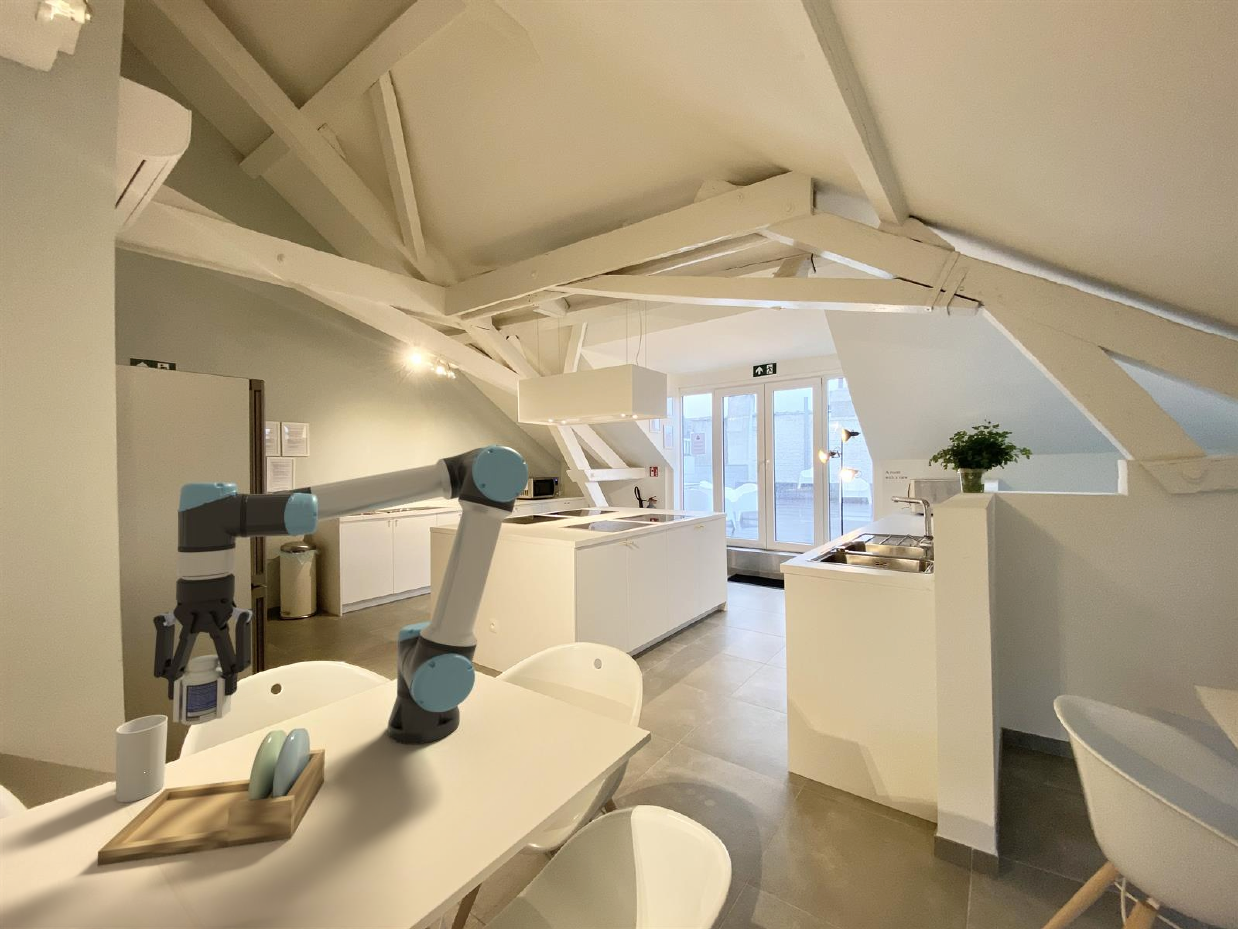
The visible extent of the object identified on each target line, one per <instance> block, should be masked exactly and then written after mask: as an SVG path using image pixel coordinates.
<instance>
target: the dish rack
mask: <svg viewBox="0 0 1238 929" xmlns="http://www.w3.org/2000/svg"><path fill="white" fill-rule="evenodd" d="M325 753H326V749H325V748H323V749H322V748H321V749H313V750H312V749H310V756H309V763H308V765H307V766H306V768H305V769H304V771H303V772H302V774H301V775H300V777H299V778H298V779H297V781H296V782H295V784H294V785H293V787H292V788H291V790H290V791H289V793H288V794H287V796H283V797H275V798H273V791H272V792H271V794H270V795H269V796H268V798H267V799H259V800H250V801H249V798H248V792H249V781H250V778H249V779H241V780H231V781H224V782H215V783H213V782H212V783H205V784H198V785H197V784H196V785H189V786H187V785H186V786H179V787H171V788H165V789H164V790H163V791H162V792H161V793H160V794H158V796H156V797H155V798H154V799H153V800H152V801H151V802H150V803H149V804H148V805H147V806H145V807H144V808H143V809H142V810H141V811H140V812H139V813H138V814H137V815H136V816H134V818H133V819H131V820H130V822H128V823H127V824H126V825H125V826H124V827H123V828H122V829H120V830H119V832H118V833H116V834H115V835H114V836H113V837H112V838H111V839H110V840H109V841H108V842H106V844H105V845H104V846H102V848H100V849H99V850H98V851H97V867H99V866H105V865H113V864H119V863H127V862H128V863H129V862H134V861H140V860H148V859H155V858H162V857H163V858H164V857H170V856H176V855H185V854H190V853H199V852H206V851H214V850H221V849H227V848H229V849H230V848H235V847H243V846H249V845H250V846H251V845H257V844H262V843H263V844H264V843H270V842H277V841H278V842H279V841H285V840H290V839H292V838H293V836H294V834H295V833H296V831H297V830H298V827H299V826H300V824H301V822H302V821H303V819H304V817H305V816H306V813H307V812H308V810H309V808H310V807H311V805H312V804H313V801H314V800H315V798H316V796H317V795H318V793H319V791H320V790H321V788H322V786H323V785H324V783H325V762H326V761H325V757H326V756H325Z"/></svg>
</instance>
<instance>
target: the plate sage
mask: <svg viewBox="0 0 1238 929" xmlns="http://www.w3.org/2000/svg"><path fill="white" fill-rule="evenodd" d="M287 736H288V734H287V733H286V731H284V729H283V730H281V729H280V730H272V731H270V732H268V733H267V734H266V735H265V736H264V738H263V739H262V741H261V743H260V745H259V746H258V749H257V752H256V754H255V757H254V760H253V763H252V767H251V772H250V774H249V775H250V776H249V779H250V781H249V792H248V798H249V801H250V800H259V799H267V798H268V796H269V795H270V794H271V792H272V791H273V782H274V774H275V769H276V764H277V760H278V757H279V753H280V751H281V748H282V745H283V743H284V741H285V739H286V737H287Z"/></svg>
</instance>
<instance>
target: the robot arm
mask: <svg viewBox="0 0 1238 929" xmlns="http://www.w3.org/2000/svg"><path fill="white" fill-rule="evenodd" d="M529 476H530V475H529V468H528V464H527V462H526V461H525V459H524V458H523V456H522V455H521V453H519V452H518V451H517V450H515V449H513V448H511V447H509V446H506V445H505V446H504V445H498V444H496V445H495V444H494V445H493V444H492V445H488V446H485V447H479V448H474V449H472V450H469V451H466V452H463V453H460V454H457V455H453V456H449V457H443V458H439V459H438V460H437V461H436V463H435V464H429V465H424V466H418V467H413V468H408V469H407V468H406V469H402V470H395V471H391V472H384V473H383V472H382V473H377V474H373V475H368V476H363V477H356V478H351V479H349V478H348V479H346V480H345V479H344V480H337V481H334V482H328V483H327V482H326V483H321V484H317V485H316V484H315V485H311V486H307V487H299V488H293V489H288V490H287V489H283V490H278V491H275V492H273V493H253V494H250V493H240V492H239V490H238V485H237V484H236V483H234V482H212V481H211V482H203V481H202V482H199V481H198V482H187V483H185V484H184V485H182V487H181V488H180V493H179V494H180V495H179V504H178V505H179V506H178V509H177V518H178V519H177V553H176V555H177V557H176V559H177V560H176V575H177V576H178V577H180V578H178V579H177V580H176V582H175V583H176V587H175V588H176V589H175V600H176V605H175V608H174V609H173V611H169V612H168V611H167V612H164V613H161V614H159V615H156V616H155V617H153V619H152V622H153V624H154V627H155V630H156V637H155V638H156V639H155V649H154V664H153V677H154V678H157V679H158V678H163V679H166V680H167V683H168V685H167V686H168V687H167V698H168V700H169V701H172V700H173V708H172V711H173V712H172V723H179V722H181V702H182V679H183V677H184V676H185V675H186V674H187V672H188V670H187V668H188V662H189V660H190V658H191V654H192V652H193V649H194V646H195V644H196V640H197V638H198V635H199V634H200V633H205V634H208V635H209V637H210V639H211V640H212V642H213V646H214V648H215V652H216V655H218V659H219V662H220V663H219V665H220V668H221V669H222V672H223V675H222V676H221V677H219V678H218V682H217V718H216V719H217V720H219V719H223V718H224V717H226V715H227V714H229V713H230V712H231V709H232V707H231V706H232V696H233V694H235V693H236V692H237V690H238V674H239V673H242V672H243V671H245V670H247V669H248V668H249V667H251V665H252V631H251V630H252V626H251V624H252V621H253V618H254V615H255V610H254V609H253V608H248V609H244V608H241V607H240V608H239V607H237V604H236V603H235V601H234V597H235V593H236V592H235V589H236V588H235V585H236V584H235V582H236V575H235V574H233V573H232V572H234V571H235V570H236V547H237V546H236V545H237V544H236V543H237V542H236V540H237V538H242V539H243V538H255V537H257V538H261V537H285V536H287V537H288V536H290V537H291V536H292V537H298V536H305V535H306V536H307V535H312V534H314V533H316V532H317V530H318V523H321V522H326V521H330V520H331V521H332V520H335V519H339V518H344V517H348V516H354V515H360V514H364V513H370V512H374V511H378V510H384V509H388V508H389V509H390V508H393V507H394V508H395V507H399V506H403V505H407V504H413V503H416V502H421V501H427V500H433V499H436V498H443V499H446V500H453V499H457V502H458V504H459V505H460V508H461V509H462V510H461V511H462V512H461V516H460V520H459V523H458V526H457V530H456V533H455V537H454V540H453V543H452V546H451V550H450V554H449V557H448V561H447V565H446V567H445V568H446V569H445V572H444V575H443V578H442V579H443V580H442V583H441V586H440V590H439V592H438V596H437V599H436V603H435V607H434V610H433V614H432V618H431V621H426V622H425V621H424V622H418V623H412V624H409V625H406V626H403V627H402V628H400V630H398V635H397V640H396V644H397V666H396V668H397V673H396V674H397V676H396V677H397V678H396V679H397V680H396V682H397V683H396V684H397V685H396V698H395V700H394V701H395V702H394V704H393V707H392V710H391V713H390V716H389V719H388V722H387V736H388V738H389V739H390V740H392V741H394V742H396V743H399V744H406V745H416V744H425V743H430V742H433V741H437V740H440V739H442V738H444V737H447V736H448V735H450V734H451V733H453V732H454V731H456V729H458V727H459V725H460V719H461V718H460V717H461V716H460V712H461V711H460V708H459V705H460V704H462V702H464V701H465V700H466V699H467V698H468V697H469V695H470V693H471V692H472V691H473V688H474V684H475V683H476V682H475V681H476V672H475V667H474V665H473V661H474V656H475V653H476V649H477V646H478V639H477V637H476V635H475V634H474V628H475V624H476V620H477V617H478V614H479V609H480V605H481V602H482V598H483V596H484V591H485V586H486V583H487V581H488V580H487V579H488V575H489V571H490V568H491V565H492V561H493V558H494V553H495V551H496V546H497V543H498V539H499V535H500V532H501V529H502V524H503V520H505V519H506V518H507V517H509V516H511V515H512V514H513V512H514V507H515V503H516V500H517V499H518V498H519V497H520V496H521V495H522V493H524V491H525V489H526V488H527V485H528V482H529ZM232 616H233V618H234V619H233V622H234V623H235V629H234V632H235V633H234V634H235V635H234V636H235V638H234V639H235V642H234V643H235V648H234V645H233V642H232V639H231V636H230V624H229V623H228V622H229V620H230V619H231V618H232ZM177 621H178V622H179V624H180V625H181V626H182V628H181V630H180V633H179V636H178V638H179V641H178V644H177V646H176V649H175V652H174V648H175V646H174V645H175V634H176V633H175V632H176V625H175V624H176V622H177ZM216 719H215V720H216Z"/></svg>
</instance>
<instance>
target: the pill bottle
mask: <svg viewBox="0 0 1238 929" xmlns="http://www.w3.org/2000/svg"><path fill="white" fill-rule="evenodd" d="M219 665H220V662H219V659H218V655H217V654H207V655H200V656H197V657H193V658H191V659H189V661H188V664H187V671H189V672H188V673H185V674H184V675H185V676H184V675H183V676H184V677H183V679H182V702H181V720H180V723H181V724H183V725H185V726H196V725H202V724H205V723H208V722H211V721H214V720H216V718H217V682H218V678H219V677H221V676H222V675H223V672H222V669H221V667H220V666H219Z"/></svg>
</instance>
